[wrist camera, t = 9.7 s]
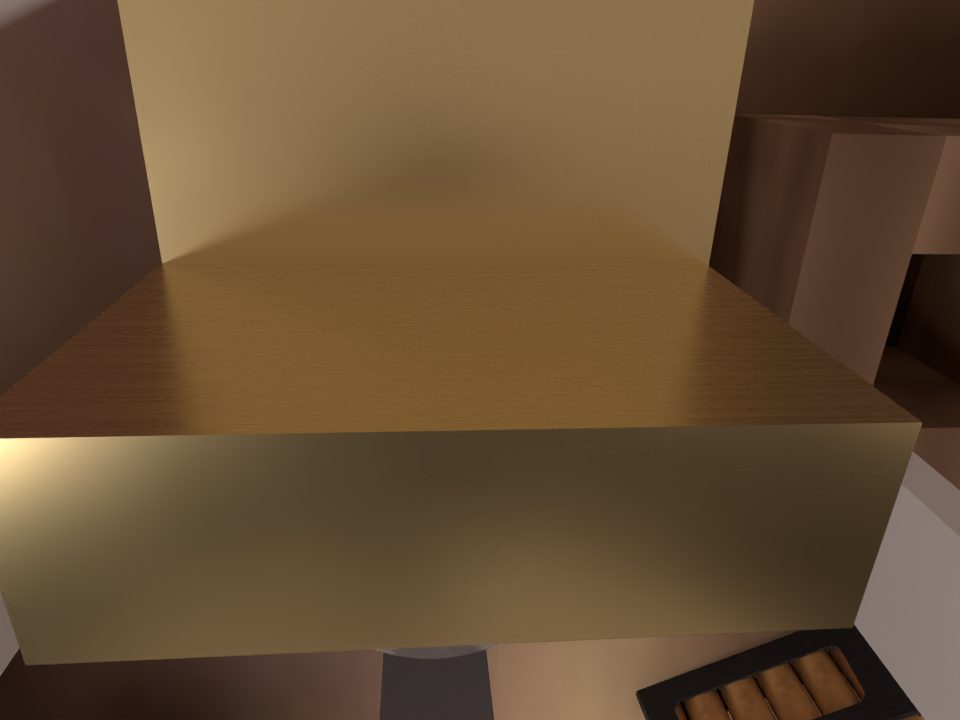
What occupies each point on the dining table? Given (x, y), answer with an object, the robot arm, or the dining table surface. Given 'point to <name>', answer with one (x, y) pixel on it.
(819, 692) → the ammunition clip
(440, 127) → the latch
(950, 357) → the frame
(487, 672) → the socket block
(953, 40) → the dining table surface
